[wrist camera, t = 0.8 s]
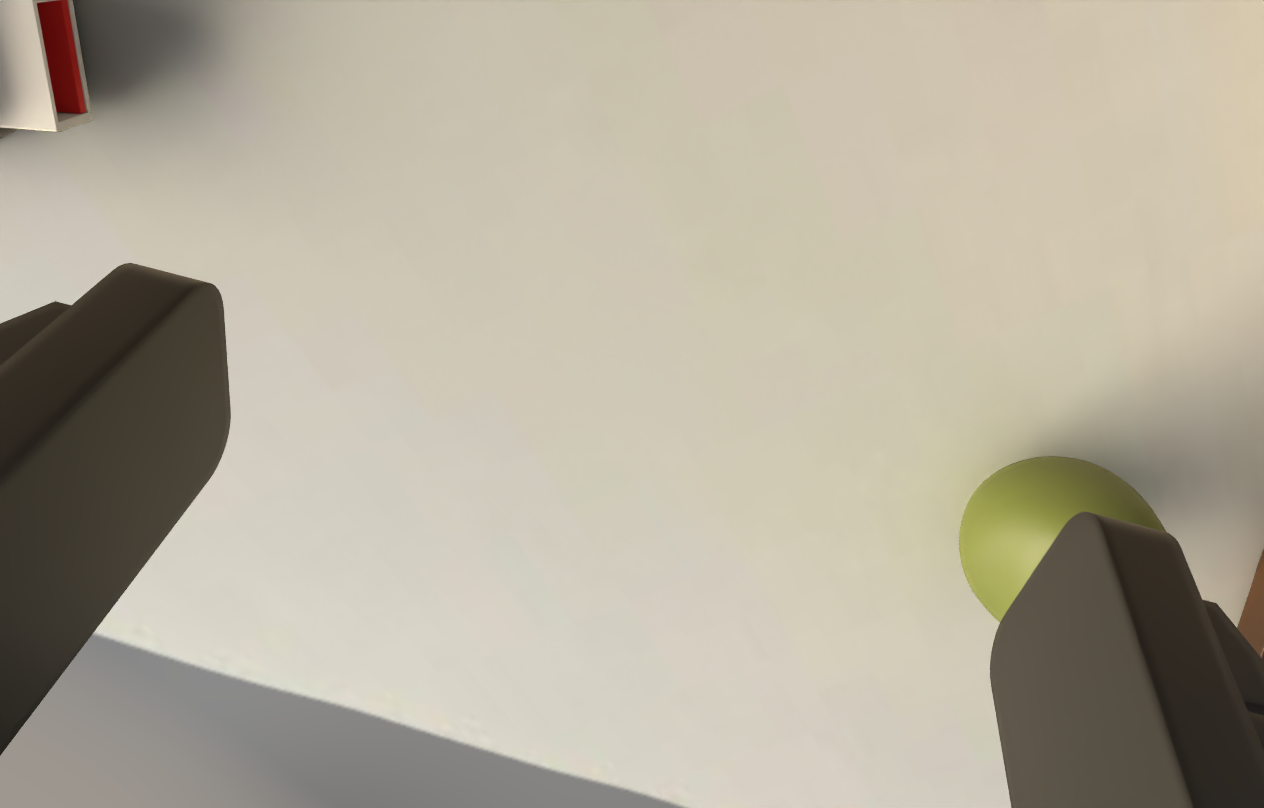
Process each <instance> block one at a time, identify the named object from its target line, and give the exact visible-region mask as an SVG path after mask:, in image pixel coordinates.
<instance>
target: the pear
mask: <svg viewBox="0 0 1264 808" xmlns="http://www.w3.org/2000/svg"><path fill="white" fill-rule="evenodd" d="M1081 512H1090V513H1094V514H1098V515H1102V516H1106V517H1109V518H1113V519H1117V520H1121V521H1125V522H1129V523H1133V524H1137V525H1141V526H1144V527H1148V528H1152V529H1156V530H1160V531H1164V532H1166V531H1165V529H1164V527H1163V525H1162V524H1161V522H1160V520H1159V519H1158V517H1157V515H1156V514H1155V513H1154V511H1153V510H1152V508H1151V507H1150V506H1149V504H1148V503H1147V502H1146V501H1145V500H1144V499H1143V497H1142V496H1141V495H1140V494H1139V493H1138V492H1137V491H1136V490H1135V489H1133V488H1132V487H1131V486H1130V485H1129V484H1128V483H1126V482H1125V481H1124V480H1123V479H1121V478H1120V477H1118V476H1117V475H1115V474H1113V473H1112V472H1110V471H1108V470H1106V469H1104V468H1102V467H1100V466H1097V465H1095V464H1092V463H1089V462H1086V461H1083V460H1078V459H1074V458H1067V457H1054V456H1049V457H1036V458H1031V459H1026V460H1022V461H1019V462H1016V463H1013V464H1011V465H1009V466H1006V467H1004V468H1002V469H1001V470H999V471H997V472H996V473H994V474H993V475H991V476H990V477H989V478H987V479H986V480H985V481H984V482H983V483H982V484H981V485H980V486H979V487H978V489H977V490H976V491H975V492H974V494H973V495H972V497H971V499H970V500H969V502H968V504H967V506H966V509H965V511H964V514H963V518H962V521H961V526H960V534H959V549H960V557H961V563H962V567H963V570H964V573H965V576H966V578H967V581H968V583H969V585H970V587H971V589H972V590H973V592H974V594H975V595H976V597H977V598H978V599H979V601H980V602H981V603H982V604H983V606H984V607H985V608H986V609H987V610H988V611H989V612H990V614H991V615H992V616H993V617H994V618H995V619H996V620H998V621H999V622H1001V620H1002V618H1003V617H1004V615H1005V613H1006V612H1007V610H1008V609H1009V607H1010V606H1011V604H1012V603H1013V601H1014V600H1015V598H1016V597H1017V595H1018V594H1019V592H1020V591H1021V589H1022V588H1023V586H1024V585H1025V583H1026V582H1027V580H1028V579H1029V577H1030V576H1031V574H1032V573H1033V571H1034V570H1035V568H1036V567H1037V565H1038V564H1039V562H1040V561H1041V559H1042V558H1043V556H1044V555H1045V554H1046V552H1047V551H1048V549H1049V548H1050V546H1051V545H1052V543H1053V542H1054V540H1055V539H1056V537H1057V536H1058V534H1059V533H1060V531H1061V530H1062V528H1063V527H1064V526H1065V524H1066V523H1067V522H1068V521H1069V520H1070V519H1071V518H1072V517H1073V516H1075V515H1076V514H1078V513H1081Z"/></svg>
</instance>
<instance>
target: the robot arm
mask: <svg viewBox="0 0 1264 808" xmlns="http://www.w3.org/2000/svg"><path fill="white" fill-rule="evenodd" d="M230 418H231V413H230V396H229V381H228V366H227V351H226V337H225V322H224V308H223V301H222V297H221V294H220V292H219V290H218V289H217V288H216V286H214V285H213V284H211V283H207V282H203V281H199V280H195V279H192V278H188V277H184V276H180V275H176V274H172V273H168V272H164V271H160V270H157V269H153V268H149V267H145V266H141V265H137V264H133V263H127V264H123V265H121V266H119V267H117V268H116V269H114V270H113V271H112V272H111V273H109V274H108V275H107V276H106V277H105V278H103V279H102V280H101V281H100V282H99V283H97V284H96V285H95V286H94V287H93V288H92V289H90V290H89V291H88V292H87V293H86V294H84V295H83V296H82V297H81V298H80V299H79V300H77V301H76V302H75V303H74V304H73V305H67V304H63V303H59V302H56V301H55V302H53V303H50V304H48V305H45V306H43V307H40V308H38V309H35V310H33V311H30V312H28V313H26V314H23V315H21V316H18V317H16V318H13V319H11V320H8V321H6V322H3V323H1V324H0V755H1V754H2V752H3V751H4V750H5V749H6V747H7V746H8V744H9V743H10V742H11V741H12V739H13V738H14V737H15V735H16V734H17V733H18V731H19V730H20V729H21V727H22V726H23V725H24V723H25V722H26V721H27V719H28V718H29V717H30V716H31V714H32V713H33V712H34V710H35V709H36V708H37V706H38V705H39V704H40V702H41V701H42V700H43V698H44V697H45V696H46V694H47V693H48V692H49V690H50V689H51V688H52V686H53V685H54V684H55V682H56V681H57V680H58V678H59V677H60V676H61V675H62V673H63V672H64V670H65V669H66V668H67V667H68V665H69V664H70V662H71V661H72V660H73V659H74V657H75V656H76V655H77V653H78V652H79V651H80V650H81V648H82V647H83V646H84V644H85V643H86V642H87V640H88V639H89V638H90V636H91V635H92V634H93V632H94V631H95V630H96V628H97V627H98V626H99V624H100V623H101V622H102V620H103V619H104V618H105V617H106V615H107V614H108V613H109V611H110V610H111V609H112V607H113V606H114V605H115V603H116V602H117V601H118V599H119V598H120V597H121V595H122V594H123V593H124V591H125V590H126V589H127V587H128V586H129V585H130V584H131V582H132V581H133V580H134V578H135V577H136V576H137V574H138V573H139V572H140V570H141V569H142V568H143V566H144V565H145V564H146V562H147V561H148V560H149V558H150V557H151V556H152V554H153V553H154V552H155V551H156V549H157V548H158V547H159V545H160V544H161V543H162V541H163V540H164V539H165V537H166V536H167V535H168V533H169V532H170V531H171V529H172V528H173V527H174V525H175V524H176V523H177V521H178V520H179V519H180V518H181V516H182V515H183V514H184V512H185V511H186V510H187V508H188V507H189V506H190V504H191V503H192V502H193V500H194V499H195V498H196V496H197V495H198V494H199V492H200V491H201V490H202V488H203V487H204V486H205V485H206V483H207V482H208V481H209V479H210V478H211V476H212V475H213V473H214V471H215V470H216V468H217V466H218V464H219V462H220V459H221V457H222V454H223V452H224V449H225V446H226V442H227V438H228V434H229V428H230ZM990 679H991V687H992V693H993V699H994V705H995V711H996V717H997V723H998V729H999V735H1000V741H1001V747H1002V753H1003V759H1004V765H1005V771H1006V777H1007V783H1008V789H1009V795H1010V801H1011V807H1012V808H1264V664H1263V662H1262V659H1261V657H1260V655H1259V654H1258V653H1257V652H1256V651H1255V649H1254V648H1253V647H1252V646H1251V645H1250V643H1249V642H1248V641H1247V640H1246V639H1245V637H1244V636H1243V635H1242V634H1241V632H1240V631H1239V630H1238V629H1237V628H1236V626H1235V625H1234V624H1233V623H1232V622H1231V620H1230V619H1229V618H1228V617H1227V616H1226V614H1225V613H1224V612H1223V611H1222V610H1221V608H1220V607H1219V606H1218V605H1217V604H1216V603H1213V602H1209V601H1205V600H1202V598H1201V596H1200V593H1199V591H1198V588H1197V586H1196V583H1195V581H1194V578H1193V576H1192V574H1191V571H1190V569H1189V566H1188V564H1187V561H1186V559H1185V556H1184V554H1183V552H1182V549H1181V547H1180V545H1179V543H1178V541H1177V540H1176V539H1175V538H1174V537H1173V536H1172V535H1171V534H1169V533H1167V532H1164V531H1160V530H1156V529H1152V528H1148V527H1144V526H1141V525H1137V524H1133V523H1129V522H1125V521H1121V520H1117V519H1113V518H1109V517H1106V516H1102V515H1098V514H1094V513H1090V512H1081V513H1078V514H1076V515H1075V516H1073V517H1072V518H1071V519H1070V520H1069V521H1068V522H1067V523H1066V524H1065V526H1064V527H1063V528H1062V530H1061V531H1060V533H1059V534H1058V536H1057V537H1056V539H1055V540H1054V542H1053V543H1052V545H1051V546H1050V548H1049V549H1048V551H1047V552H1046V554H1045V555H1044V556H1043V558H1042V559H1041V561H1040V562H1039V564H1038V565H1037V567H1036V568H1035V570H1034V571H1033V573H1032V574H1031V576H1030V577H1029V579H1028V580H1027V582H1026V583H1025V585H1024V586H1023V588H1022V589H1021V591H1020V592H1019V594H1018V595H1017V597H1016V598H1015V600H1014V601H1013V603H1012V604H1011V606H1010V607H1009V609H1008V610H1007V612H1006V613H1005V615H1004V617H1003V618H1002V620H1001V622H1000V625H999V627H998V630H997V632H996V635H995V639H994V643H993V648H992V653H991V662H990Z"/></svg>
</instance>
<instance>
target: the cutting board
mask: <svg viewBox="0 0 1264 808" xmlns="http://www.w3.org/2000/svg"><path fill="white" fill-rule="evenodd" d="M1237 629H1238V630H1239V631H1240V632H1241V634H1242V635H1243V636H1244V637H1245V639H1246V640H1247V641H1248V642H1249V643H1250V645H1251V646H1252V647H1253V648H1254V649H1255V651H1256V652H1257V653H1258V654H1259V655H1260V657H1261V659H1262V662H1263V664H1264V550H1263V553H1262V556H1261V559H1260V562H1259V565H1258V568H1257V571H1256V574H1255V577H1254V580H1253V583H1252V586H1251V589H1250V592H1249V595H1248V598H1247V601H1246V604H1245V607H1244V610H1243V613H1242V616H1241V619H1240V622H1239V625H1238V628H1237Z"/></svg>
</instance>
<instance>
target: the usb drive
mask: <svg viewBox="0 0 1264 808" xmlns="http://www.w3.org/2000/svg"><path fill="white" fill-rule="evenodd" d="M89 121H92V113H91V107H90V101H89V95H88V89H87V83H86V77H85V71H84V66H83V60H82V54H81V48H80V42H79V36H78V30H77V24H76V18H75V12H74V6H73V0H0V138H2V137H4V136H6V135H8V134H10V133H12V132H14V131H16V130H18V129H29V130H43V131H56V132H61V131H64V130H66V129H69V128H72V127H75V126H78V125H81V124H84V123H87V122H89Z"/></svg>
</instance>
